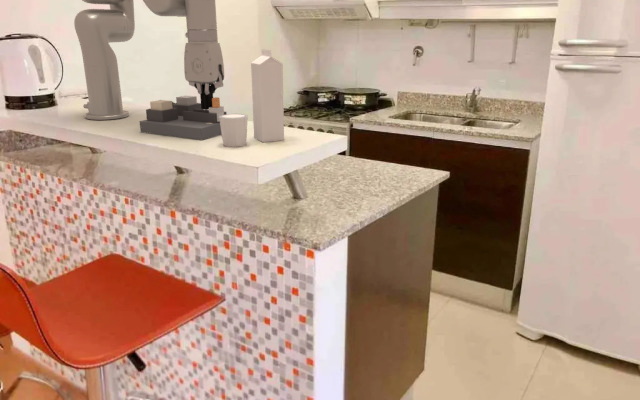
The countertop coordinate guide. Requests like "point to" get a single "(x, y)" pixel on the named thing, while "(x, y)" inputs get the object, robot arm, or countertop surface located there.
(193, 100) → the grey button
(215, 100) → the toggle slider
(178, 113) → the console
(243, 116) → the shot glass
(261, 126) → the milk
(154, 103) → the cream button
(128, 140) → the countertop surface
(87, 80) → the robot arm
